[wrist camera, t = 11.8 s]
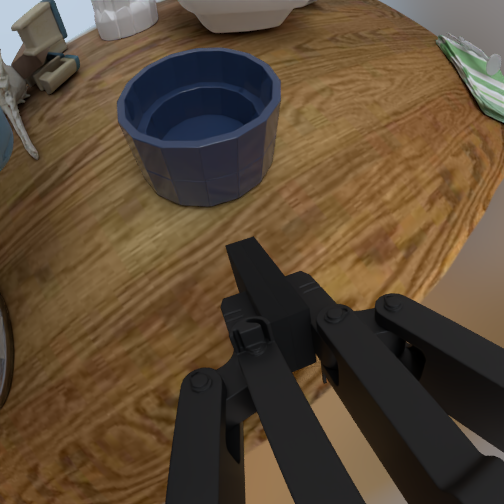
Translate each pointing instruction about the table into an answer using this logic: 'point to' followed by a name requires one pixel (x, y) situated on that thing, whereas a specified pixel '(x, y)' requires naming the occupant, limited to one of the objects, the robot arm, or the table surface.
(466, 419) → the robot arm
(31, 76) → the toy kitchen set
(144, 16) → the decorative vase
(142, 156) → the glazed bowl
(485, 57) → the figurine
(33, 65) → the wooden block
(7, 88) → the seashell
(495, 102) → the dish towel
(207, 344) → the table surface
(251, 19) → the bowl
